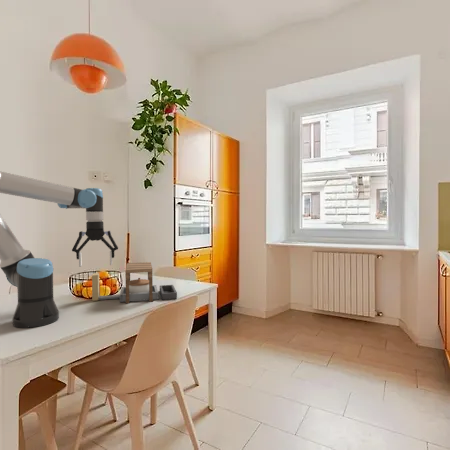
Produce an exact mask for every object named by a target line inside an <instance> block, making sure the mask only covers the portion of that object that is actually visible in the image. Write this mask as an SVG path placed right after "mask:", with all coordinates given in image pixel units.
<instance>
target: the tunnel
mask: <svg viewBox="0 0 450 450" xmlns="http://www.w3.org/2000/svg"><path fill="white" fill-rule="evenodd" d="M124 273H125V287H126V302H125V304H130V301H129V281H131V274H138V273H147V280H149V300H148V301H149V302H151V303H152V302H154V300H153V265H152V262H151V261H149V262H148V261H144V262H127V263H126V265H125V272H124Z"/></svg>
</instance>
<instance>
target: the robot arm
mask: <svg viewBox="0 0 450 450" xmlns="http://www.w3.org/2000/svg"><path fill="white" fill-rule="evenodd" d="M0 194H3V195H4V194H5V195H11V196H16V197H21V198H26V199H32V200H36V201H37V200H38V201H44V202H48V203H49V202H50V203H54V204H57V206H58V207H59V208H60V209H65V210H67V209H85V220H86V222H85V223H86V224H85V225H86V226H85V227H86V228H85V229H86V231H83V230H82V231H79V232H78V237H77V239H76V241H75V243H74V244H73V247H72V249H71V251H72V252H74V253H76V260H78V267H82V266H83V259H82V258H83V255H82V254H83V253H82V252H81V250H83V248H84V247H85V246H86V245H87V244H88V243H89V242H90V241H92V242H93V241H96V242H97V241H101V242H102V243H104V245H105V246H106V247H107V248H108V249H109V250H110V251H109V265H110V266H112V265H113V259H114V258H115V251H118V249H119V246H118V245H117V243H116V241H115V239H114V238H113V236H112V232H111V230H106V231H105V229H104V227H105V226H104V221H103V220H104V195H103V194H104V193H103V190H102V188H98V187H88V188H85V189H84V188H83V189H80V188H76V187H72V186H67V185H63V184H59V183H55V182H51V181H50V182H49V181H45V180H42V179H37V178H31V177H28V176H22V175H18V174H14V173H11V172H5V171H2V170H1V171H0ZM85 235H86V237H87V238H86V239H85V240H84V241H83V242H82V244H81V245H80V246H79V244H80V242H81V240H82V238H83V237H84V236H85ZM104 235H106V236H107V237H108V239H109V240H110V242H111V244H112V245H111V244H110V243H109V241H108V240H106V238H104ZM0 269H1V271H2V272H3V273H4V274H5V277H6V280H7V282H8V283H9V284H10V285H11V286H14V287H15V288H17V305H16V307H15V311H14V313H13V317H12V326H13V327H14V326H15V327H14V328H22V329H23V328H24V329H25V328H27V329H28V328H29V327H30V328H37V327H42V326H47V325H49V324H53V323H54V322H56V321H58V320H59V319H60V315H59V314H60V312H59V309H58V307H57V304H56V302H55V300H54V265H53V262H52V260H50V259H49V258H42V257H41V258H40V257H35V256H34V255H33V254H32V252H31V251H30V250H28V249H25V248H24V247H23V246H22V244H21V243H20V242H19V240H18V239H17V237H16V236H15V234H14V233H13V231H12V230H11V228H10V226H9V225H8V223H7V222H6V221H5V219H4V218H3V216H2V214H0Z"/></svg>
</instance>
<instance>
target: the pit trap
mask: <svg viewBox="0 0 450 450" xmlns="http://www.w3.org/2000/svg"><path fill="white" fill-rule="evenodd" d="M159 293H160V297H161V300H162V301H164V300H165V301H166V300H177V299H178V292H177V290H176V288H175V286H174V284H164V285H162V284H161V285H159Z"/></svg>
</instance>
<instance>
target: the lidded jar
mask: <svg viewBox="0 0 450 450" xmlns="http://www.w3.org/2000/svg"><path fill="white" fill-rule="evenodd" d="M129 293H130V294H135V293H149V280H148V279H145V278H141V277H138V279H130V281H129Z"/></svg>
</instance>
